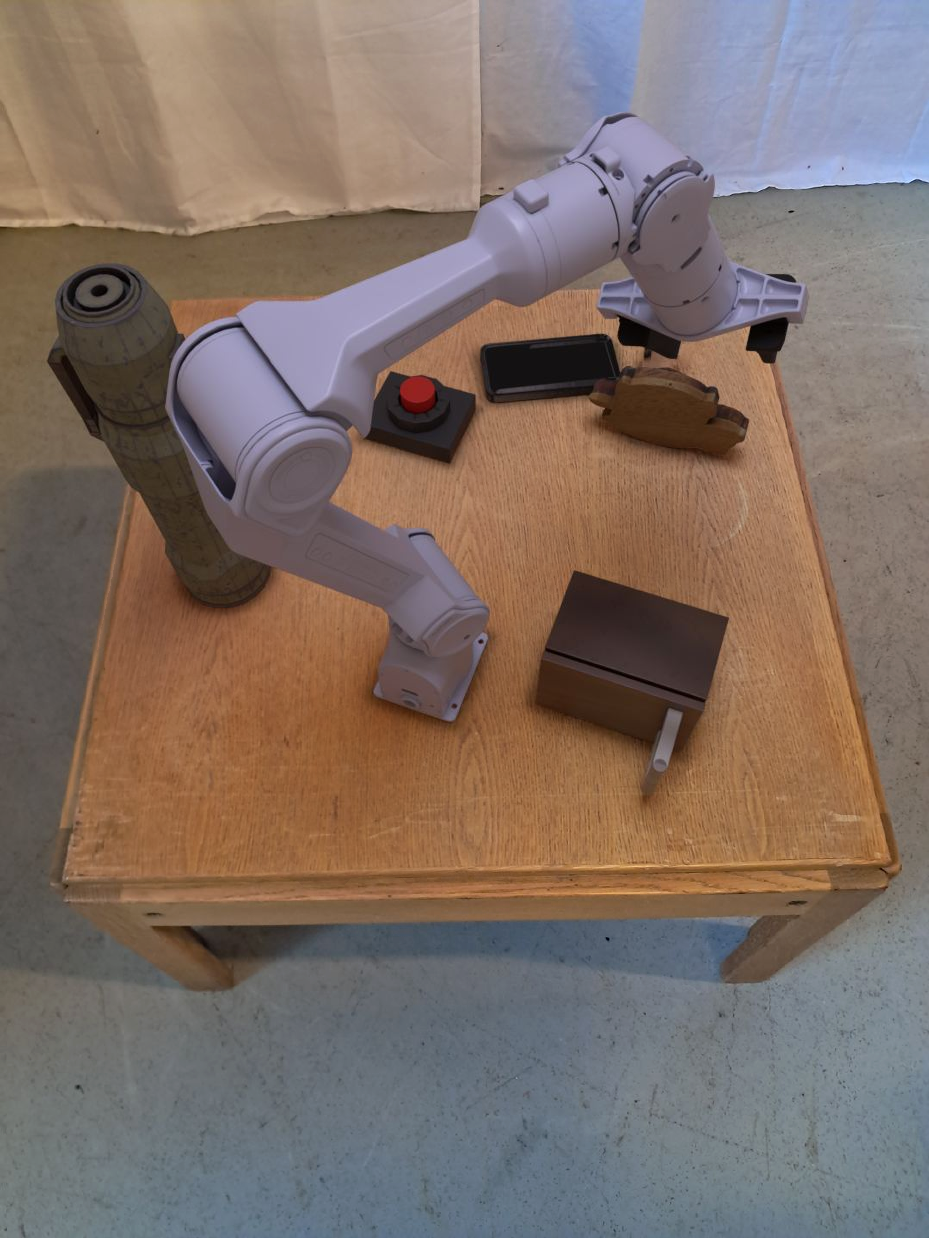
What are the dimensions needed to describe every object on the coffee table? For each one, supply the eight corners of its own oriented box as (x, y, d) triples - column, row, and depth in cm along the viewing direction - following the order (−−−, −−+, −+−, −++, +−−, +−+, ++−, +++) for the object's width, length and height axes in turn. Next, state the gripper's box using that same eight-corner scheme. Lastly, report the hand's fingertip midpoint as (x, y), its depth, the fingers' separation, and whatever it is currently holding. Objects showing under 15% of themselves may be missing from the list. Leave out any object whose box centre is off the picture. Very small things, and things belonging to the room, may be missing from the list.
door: (664, 810, 78) (686, 775, 70) (514, 758, 80) (518, 717, 72) (683, 744, 81) (705, 703, 73) (537, 696, 83) (543, 650, 75)
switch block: (476, 409, 100) (476, 383, 96) (449, 464, 96) (448, 439, 93) (392, 386, 102) (389, 360, 98) (363, 438, 98) (359, 413, 95)
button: (440, 393, 96) (439, 381, 95) (427, 417, 95) (427, 406, 93) (408, 384, 97) (407, 372, 95) (395, 408, 95) (394, 397, 94)
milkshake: (675, 355, 103) (693, 285, 95) (675, 391, 101) (694, 322, 92) (634, 353, 104) (649, 282, 95) (634, 388, 101) (649, 319, 92)
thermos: (173, 534, 92) (22, 245, 62) (290, 532, 92) (196, 241, 62) (161, 610, 88) (-9, 340, 58) (282, 608, 88) (178, 336, 57)
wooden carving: (740, 436, 98) (766, 369, 89) (735, 469, 95) (761, 403, 87) (588, 408, 100) (599, 340, 91) (580, 440, 98) (591, 373, 89)
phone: (623, 383, 100) (487, 396, 99) (621, 391, 101) (487, 403, 100) (609, 332, 103) (479, 343, 103) (608, 339, 104) (478, 350, 104)
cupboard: (683, 742, 81) (707, 699, 73) (538, 694, 83) (544, 646, 75) (704, 666, 85) (729, 617, 76) (564, 622, 87) (573, 569, 79)
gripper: (807, 203, 56) (830, 301, 68) (590, 211, 63) (646, 299, 75) (782, 312, 56) (810, 392, 68) (568, 308, 63) (627, 381, 75)
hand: (723, 349), depth 72 cm, fingers open, 7 cm apart
